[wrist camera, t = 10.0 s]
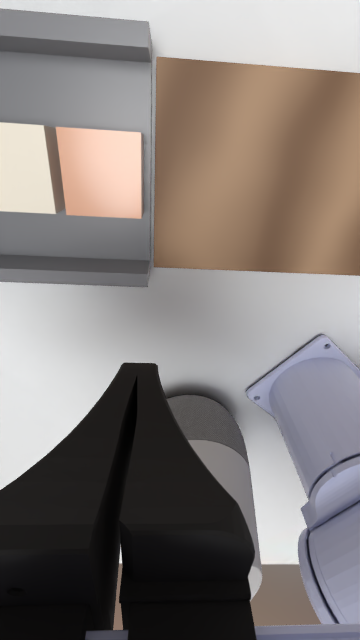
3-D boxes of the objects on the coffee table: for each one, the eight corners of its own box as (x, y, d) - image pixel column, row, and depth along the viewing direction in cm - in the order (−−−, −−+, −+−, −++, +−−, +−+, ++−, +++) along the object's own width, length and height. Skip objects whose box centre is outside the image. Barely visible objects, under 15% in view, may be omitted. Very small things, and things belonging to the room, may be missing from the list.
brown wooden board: (460, 89, 16) (486, 83, 15) (386, 269, 21) (401, 277, 20) (157, 64, 15) (156, 56, 14) (154, 259, 20) (153, 267, 19)
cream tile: (57, 128, 16) (43, 125, 14) (66, 207, 18) (55, 213, 16) (-22, 122, 16) (-46, 119, 14) (-3, 204, 18) (-22, 210, 16)
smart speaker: (232, 454, 30) (278, 663, 18) (139, 458, 30) (120, 672, 17) (241, 380, 25) (310, 594, 13) (130, 384, 25) (95, 605, 13)
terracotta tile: (143, 134, 16) (140, 132, 14) (143, 212, 18) (141, 218, 16) (68, 129, 16) (55, 126, 14) (76, 208, 18) (66, 215, 16)
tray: (151, 43, 15) (148, 21, 12) (149, 270, 20) (147, 287, 18) (-105, 21, 14) (-162, -6, 12) (-33, 263, 20) (-61, 279, 17)
